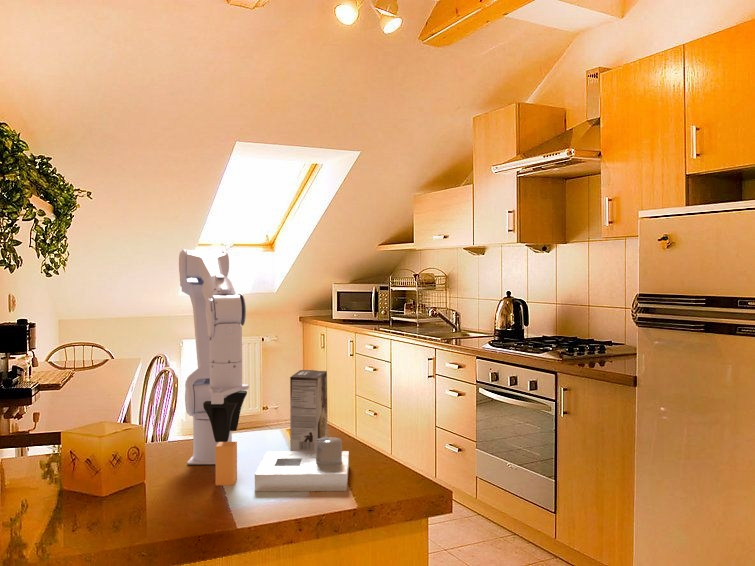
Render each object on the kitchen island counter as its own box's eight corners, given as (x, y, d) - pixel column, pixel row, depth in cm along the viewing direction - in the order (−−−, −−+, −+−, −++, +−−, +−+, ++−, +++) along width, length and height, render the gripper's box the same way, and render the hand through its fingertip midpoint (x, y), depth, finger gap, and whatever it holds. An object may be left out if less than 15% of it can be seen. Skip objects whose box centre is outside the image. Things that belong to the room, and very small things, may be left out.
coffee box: (300, 440, 146) (300, 369, 145) (328, 441, 145) (328, 370, 144) (289, 452, 136) (288, 376, 136) (318, 453, 136) (318, 377, 135)
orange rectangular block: (219, 479, 119) (219, 441, 119) (237, 479, 119) (236, 441, 119) (215, 485, 116) (215, 446, 116) (233, 485, 116) (233, 446, 116)
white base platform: (267, 466, 126) (267, 431, 126) (348, 466, 127) (348, 430, 127) (254, 491, 112) (254, 451, 112) (346, 490, 113) (346, 451, 113)
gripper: (240, 367, 110) (240, 446, 110) (255, 355, 124) (255, 425, 124) (198, 367, 110) (199, 446, 110) (218, 355, 124) (218, 426, 124)
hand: (226, 435), depth 117 cm, fingers open, 7 cm apart
